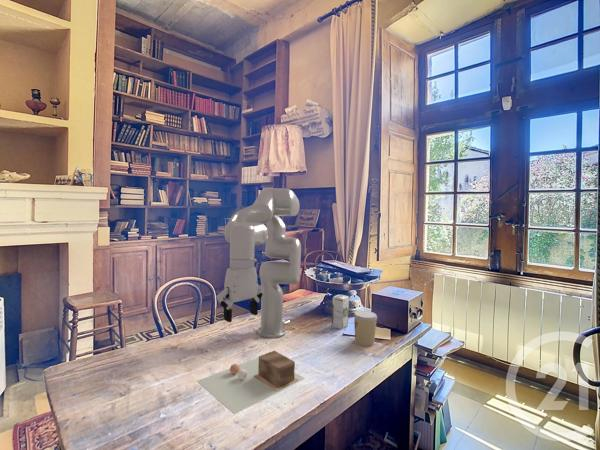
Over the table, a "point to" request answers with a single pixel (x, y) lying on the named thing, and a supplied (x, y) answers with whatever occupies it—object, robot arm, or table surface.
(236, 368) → the terracotta ball
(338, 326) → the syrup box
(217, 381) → the sage board
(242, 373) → the cream ball
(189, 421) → the table surface
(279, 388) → the cork pad
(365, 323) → the coffee cup
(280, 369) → the walnut cover
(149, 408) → the table surface
